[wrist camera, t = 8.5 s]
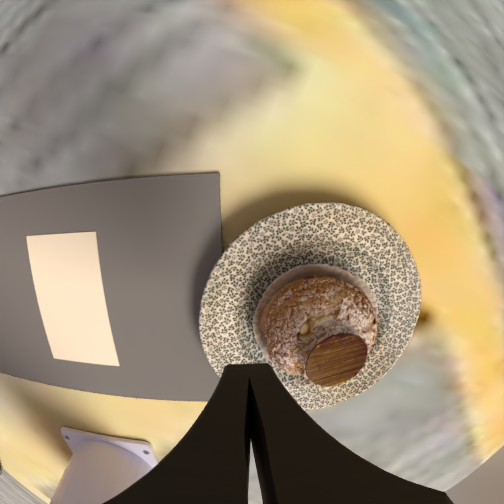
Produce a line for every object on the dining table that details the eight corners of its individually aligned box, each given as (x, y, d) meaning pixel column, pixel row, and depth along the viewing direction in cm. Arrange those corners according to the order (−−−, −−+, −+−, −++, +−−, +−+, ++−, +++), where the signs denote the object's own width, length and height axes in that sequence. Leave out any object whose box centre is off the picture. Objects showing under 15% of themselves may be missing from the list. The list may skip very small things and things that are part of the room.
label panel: (230, 398, 17) (230, 401, 17) (-43, 355, 16) (-45, 357, 16) (220, 173, 14) (219, 173, 14) (-76, 215, 13) (-79, 216, 13)
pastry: (302, 149, 14) (333, 136, 9) (442, 289, 16) (489, 318, 12) (158, 333, 15) (135, 384, 11) (316, 423, 18) (333, 474, 13)
